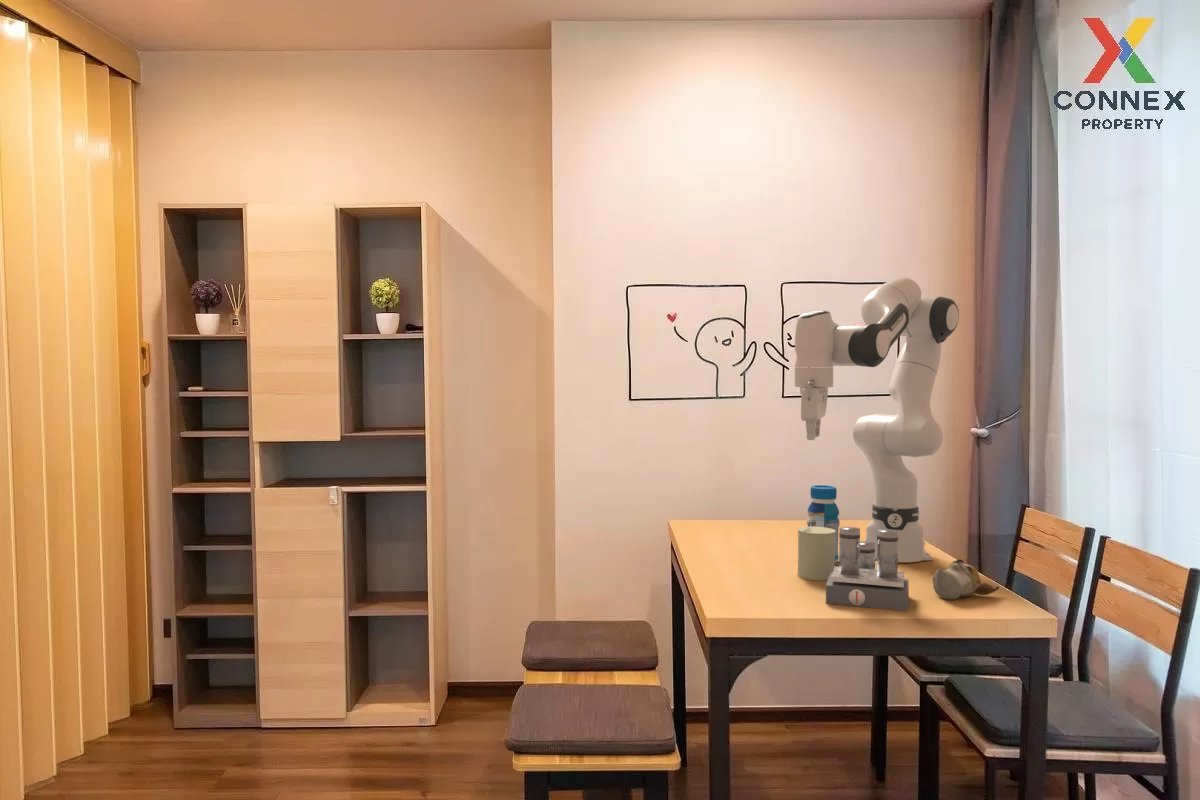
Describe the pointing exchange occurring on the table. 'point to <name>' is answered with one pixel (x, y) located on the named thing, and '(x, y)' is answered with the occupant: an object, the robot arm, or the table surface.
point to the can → (816, 552)
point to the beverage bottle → (824, 510)
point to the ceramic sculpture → (960, 581)
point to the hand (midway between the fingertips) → (813, 438)
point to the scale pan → (868, 578)
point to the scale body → (868, 595)
